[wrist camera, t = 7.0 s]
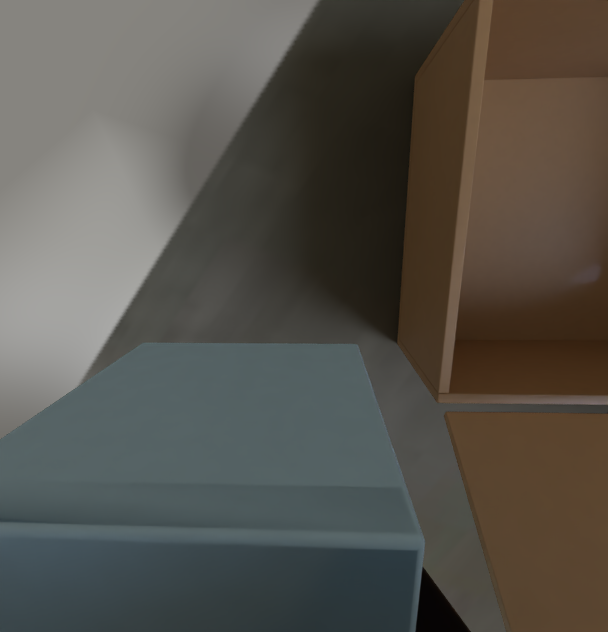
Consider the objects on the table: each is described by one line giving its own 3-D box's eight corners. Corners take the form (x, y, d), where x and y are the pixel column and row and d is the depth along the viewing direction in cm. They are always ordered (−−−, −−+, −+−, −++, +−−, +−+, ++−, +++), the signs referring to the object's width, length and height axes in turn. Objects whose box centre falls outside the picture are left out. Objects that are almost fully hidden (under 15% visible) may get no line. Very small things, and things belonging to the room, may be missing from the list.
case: (358, 342, 8) (428, 541, 3) (348, 604, 10) (380, 977, 5) (142, 341, 8) (-136, 526, 3) (177, 599, 10) (46, 952, 5)
